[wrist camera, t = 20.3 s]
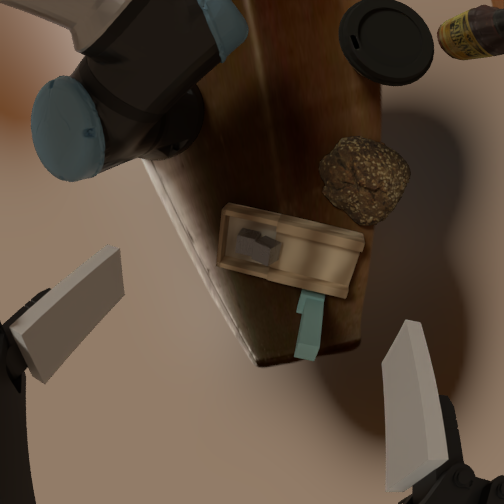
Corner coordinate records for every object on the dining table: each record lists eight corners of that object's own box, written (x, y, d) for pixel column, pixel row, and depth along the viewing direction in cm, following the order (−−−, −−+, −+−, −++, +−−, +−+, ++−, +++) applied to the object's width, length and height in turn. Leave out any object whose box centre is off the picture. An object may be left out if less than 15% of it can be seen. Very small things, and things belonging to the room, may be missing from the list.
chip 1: (258, 248, 51) (240, 244, 51) (260, 231, 50) (242, 227, 50) (253, 257, 48) (235, 252, 49) (256, 239, 47) (237, 235, 47)
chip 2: (262, 252, 50) (251, 258, 48) (265, 235, 49) (254, 241, 47) (278, 259, 49) (267, 266, 47) (281, 242, 47) (270, 248, 45)
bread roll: (419, 169, 40) (428, 177, 36) (371, 232, 46) (375, 246, 42) (348, 117, 39) (350, 119, 35) (303, 186, 46) (300, 196, 41)
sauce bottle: (427, 29, 30) (485, -10, 12) (457, 18, 27) (523, -19, 10) (450, 68, 31) (523, 55, 14) (480, 56, 29) (557, 42, 11)
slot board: (363, 233, 46) (365, 243, 43) (345, 286, 51) (345, 298, 48) (228, 202, 49) (221, 209, 46) (222, 257, 54) (215, 267, 51)
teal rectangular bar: (325, 292, 52) (320, 344, 41) (319, 310, 54) (313, 363, 43) (302, 287, 53) (292, 338, 42) (297, 305, 55) (286, 357, 44)
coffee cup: (413, 86, 34) (451, 79, 21) (347, 96, 38) (357, 92, 25) (392, 22, 31) (419, -11, 18) (326, 33, 34) (324, 0, 21)
